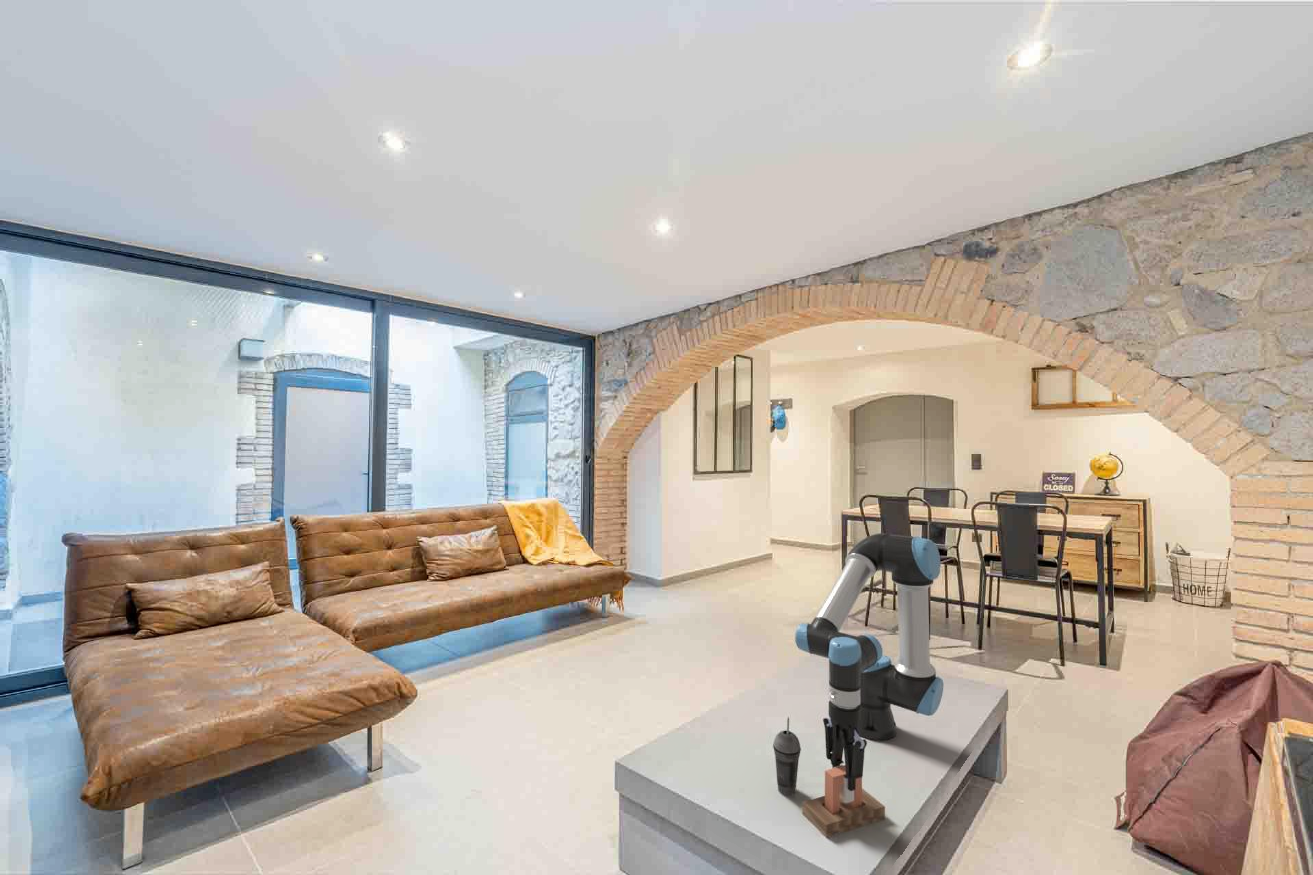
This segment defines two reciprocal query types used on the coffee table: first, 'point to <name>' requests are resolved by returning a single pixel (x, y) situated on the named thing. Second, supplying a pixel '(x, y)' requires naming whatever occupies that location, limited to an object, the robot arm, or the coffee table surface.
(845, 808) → the slotted wooden board
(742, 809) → the coffee table surface
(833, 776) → the block
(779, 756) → the beverage cup
